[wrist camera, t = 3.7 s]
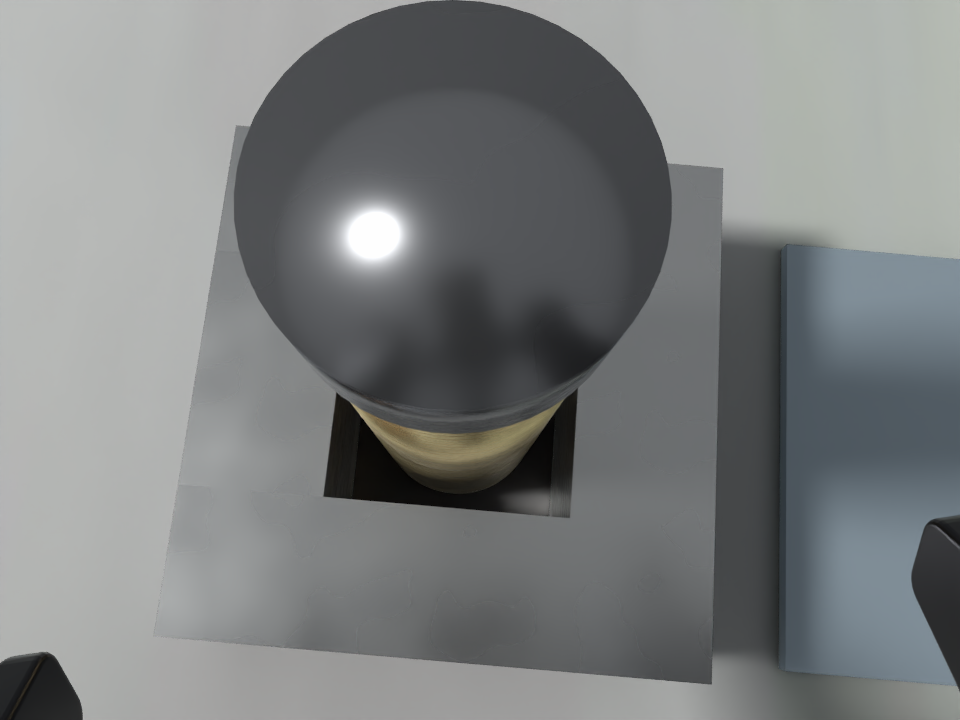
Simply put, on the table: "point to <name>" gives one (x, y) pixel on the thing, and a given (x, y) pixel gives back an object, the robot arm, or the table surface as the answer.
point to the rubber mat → (864, 456)
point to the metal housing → (451, 531)
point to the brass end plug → (453, 225)
